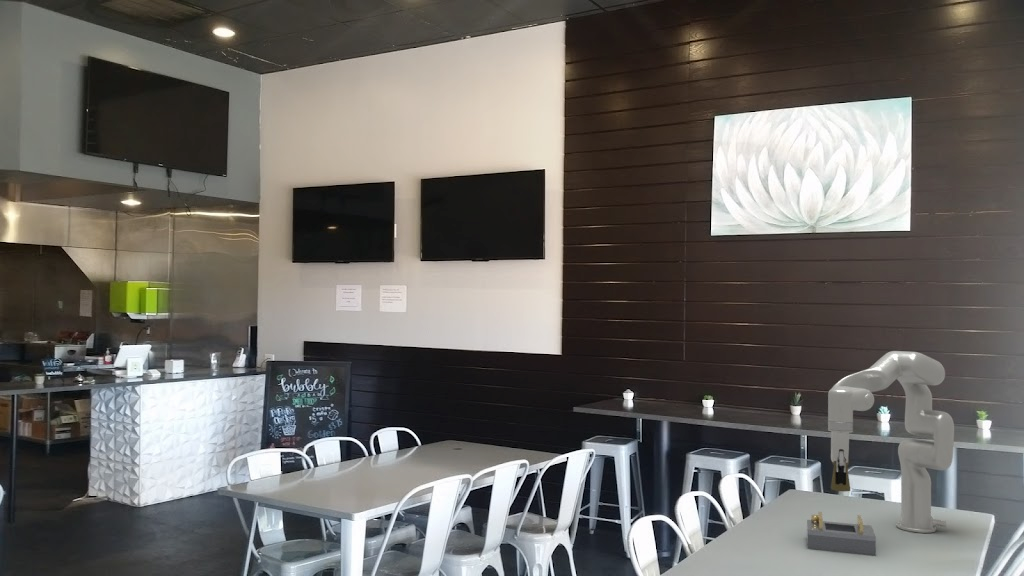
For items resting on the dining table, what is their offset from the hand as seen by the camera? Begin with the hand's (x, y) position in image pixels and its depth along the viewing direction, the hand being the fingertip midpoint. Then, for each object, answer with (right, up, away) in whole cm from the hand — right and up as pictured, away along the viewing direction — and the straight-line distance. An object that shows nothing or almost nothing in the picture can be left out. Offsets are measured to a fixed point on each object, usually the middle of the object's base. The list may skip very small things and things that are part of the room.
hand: (840, 482), depth 262 cm
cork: (0, -2, 0) cm, 2 cm away
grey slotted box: (0, -21, -1) cm, 21 cm away
